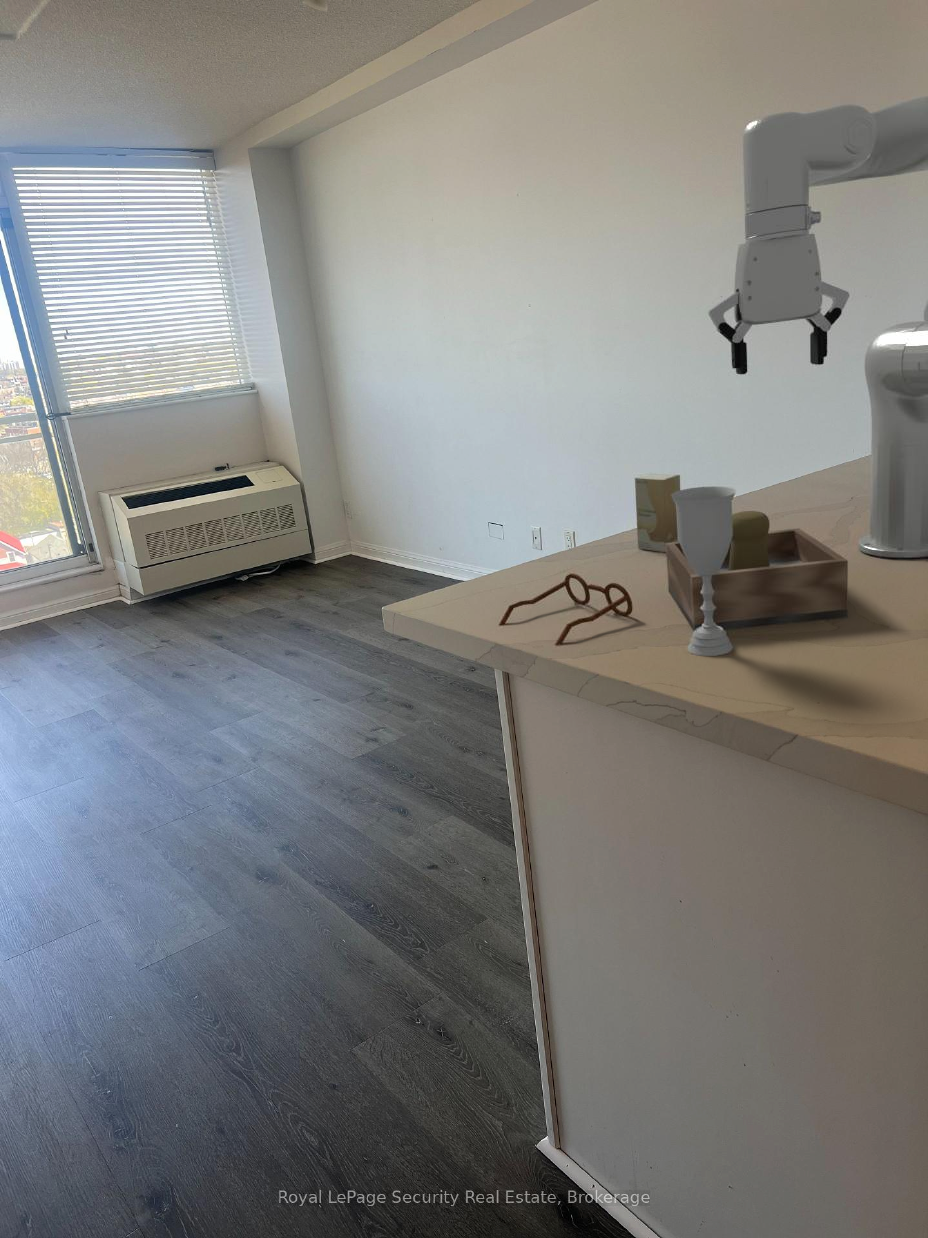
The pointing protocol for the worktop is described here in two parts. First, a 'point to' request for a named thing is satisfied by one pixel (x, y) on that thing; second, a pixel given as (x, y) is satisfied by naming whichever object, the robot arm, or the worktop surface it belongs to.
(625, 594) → the glasses
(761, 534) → the cork
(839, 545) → the worktop surface
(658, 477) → the skincare box
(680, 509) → the chalice
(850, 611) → the worktop surface
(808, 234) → the robot arm
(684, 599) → the wooden box
